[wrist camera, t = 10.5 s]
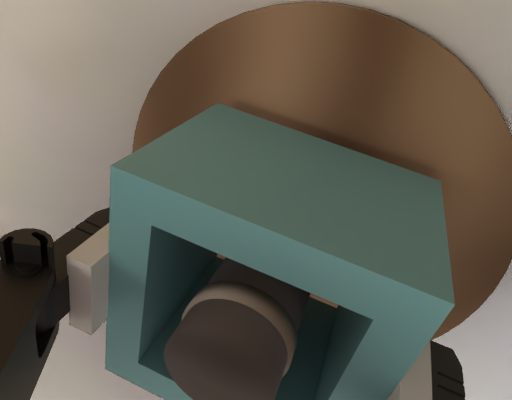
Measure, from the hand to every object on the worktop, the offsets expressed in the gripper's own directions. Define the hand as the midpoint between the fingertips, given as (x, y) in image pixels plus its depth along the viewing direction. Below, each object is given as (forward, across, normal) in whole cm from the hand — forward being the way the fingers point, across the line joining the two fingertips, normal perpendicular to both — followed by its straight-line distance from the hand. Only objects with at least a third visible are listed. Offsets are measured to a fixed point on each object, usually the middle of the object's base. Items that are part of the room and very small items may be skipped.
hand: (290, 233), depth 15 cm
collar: (0, 0, 0) cm, 0 cm away
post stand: (+2, 0, 0) cm, 2 cm away
